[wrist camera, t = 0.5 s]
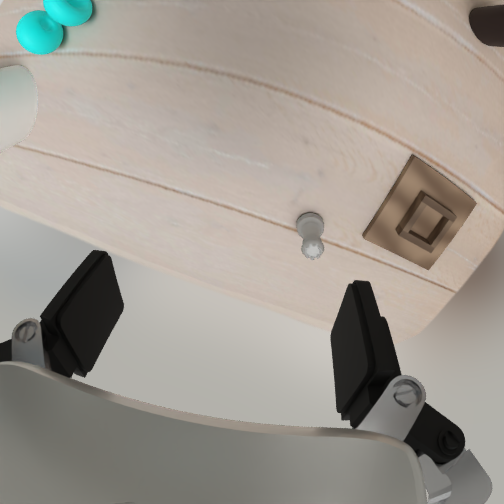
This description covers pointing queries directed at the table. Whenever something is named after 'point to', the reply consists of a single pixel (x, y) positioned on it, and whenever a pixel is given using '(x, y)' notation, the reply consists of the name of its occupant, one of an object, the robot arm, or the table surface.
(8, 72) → the cylinder
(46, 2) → the donuts
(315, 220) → the rook chess piece
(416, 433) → the robot arm
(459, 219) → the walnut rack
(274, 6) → the table surface
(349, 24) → the table surface
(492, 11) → the bottle
